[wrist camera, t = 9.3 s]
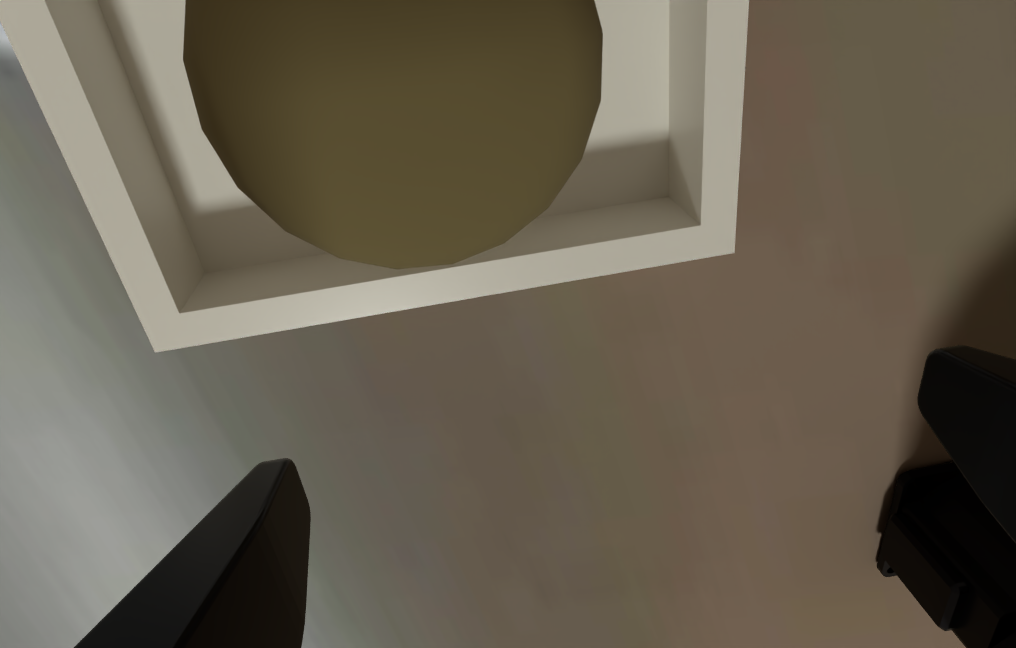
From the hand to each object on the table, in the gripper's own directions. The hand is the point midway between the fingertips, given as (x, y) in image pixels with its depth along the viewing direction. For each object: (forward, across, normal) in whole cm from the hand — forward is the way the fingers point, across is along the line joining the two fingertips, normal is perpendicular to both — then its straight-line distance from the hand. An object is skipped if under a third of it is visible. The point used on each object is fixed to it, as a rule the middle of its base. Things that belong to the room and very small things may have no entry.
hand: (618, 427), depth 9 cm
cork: (+12, +2, -5) cm, 13 cm away
